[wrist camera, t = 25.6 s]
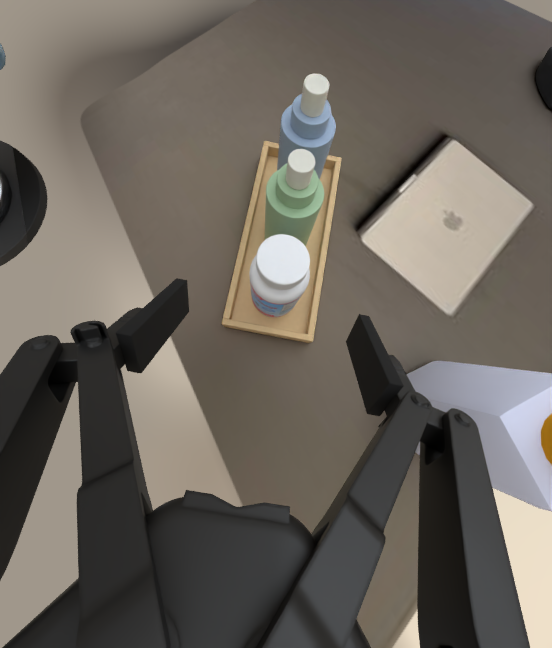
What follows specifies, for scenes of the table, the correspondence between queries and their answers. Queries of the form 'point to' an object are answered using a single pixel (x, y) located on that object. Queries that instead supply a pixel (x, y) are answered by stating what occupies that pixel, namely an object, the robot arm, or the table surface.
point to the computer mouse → (545, 78)
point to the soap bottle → (500, 421)
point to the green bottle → (293, 197)
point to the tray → (239, 299)
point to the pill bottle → (279, 275)
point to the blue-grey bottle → (308, 123)
